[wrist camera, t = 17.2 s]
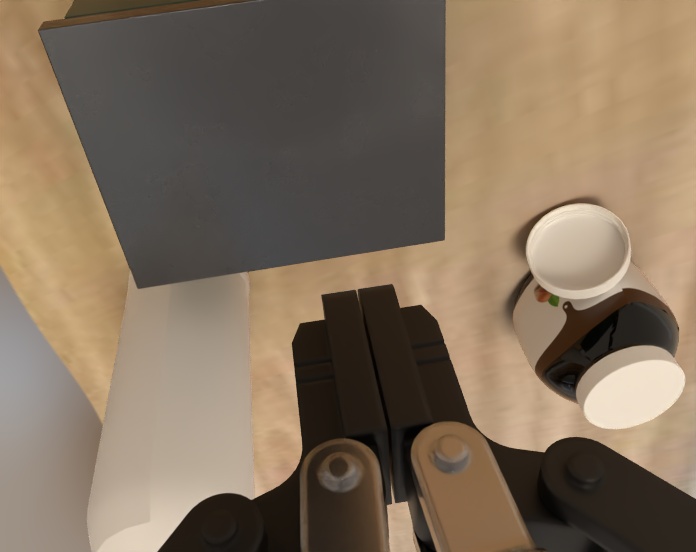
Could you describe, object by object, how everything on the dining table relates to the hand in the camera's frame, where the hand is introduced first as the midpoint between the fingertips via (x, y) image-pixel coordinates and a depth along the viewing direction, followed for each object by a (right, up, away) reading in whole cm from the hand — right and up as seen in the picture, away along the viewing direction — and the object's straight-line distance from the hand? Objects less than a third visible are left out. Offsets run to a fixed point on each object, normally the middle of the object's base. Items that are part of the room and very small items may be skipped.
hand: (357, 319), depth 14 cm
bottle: (-11, +2, +33) cm, 35 cm away
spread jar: (+16, +2, +38) cm, 41 cm away
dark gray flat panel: (-4, +7, +17) cm, 19 cm away
